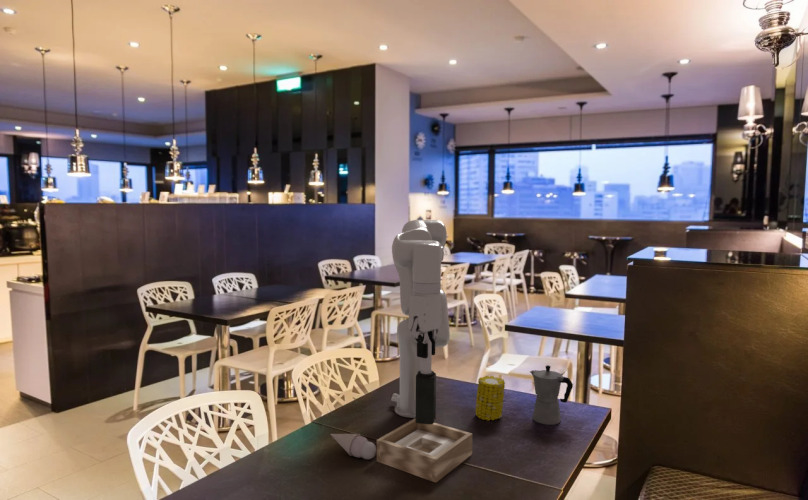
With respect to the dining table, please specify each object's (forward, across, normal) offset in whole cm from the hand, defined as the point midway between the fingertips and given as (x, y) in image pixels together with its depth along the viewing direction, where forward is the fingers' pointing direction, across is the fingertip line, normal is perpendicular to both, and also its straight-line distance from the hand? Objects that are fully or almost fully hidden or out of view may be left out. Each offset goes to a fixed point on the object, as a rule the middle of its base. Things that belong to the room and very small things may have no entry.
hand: (426, 355), depth 143 cm
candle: (+18, 0, 0) cm, 18 cm away
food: (+29, -37, +2) cm, 47 cm away
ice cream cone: (+29, +10, -18) cm, 36 cm away
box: (+29, 0, 0) cm, 29 cm away
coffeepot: (+29, -46, +18) cm, 57 cm away
